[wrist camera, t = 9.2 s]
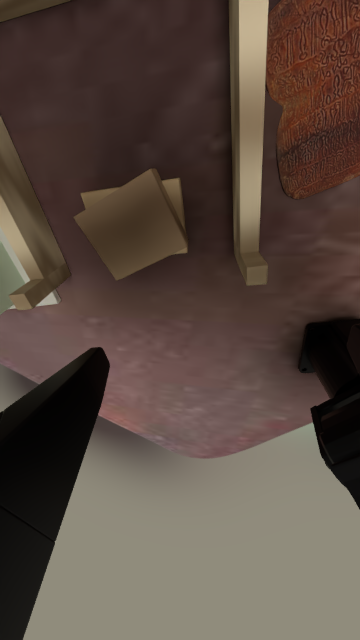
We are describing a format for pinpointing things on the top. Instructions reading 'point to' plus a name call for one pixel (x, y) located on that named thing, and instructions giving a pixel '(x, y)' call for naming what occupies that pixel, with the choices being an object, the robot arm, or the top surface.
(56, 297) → the grey mat
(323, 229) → the top surface
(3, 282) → the sage green prism
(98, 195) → the oak offcut
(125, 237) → the tan flat block
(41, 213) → the rack
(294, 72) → the wooden tablet
